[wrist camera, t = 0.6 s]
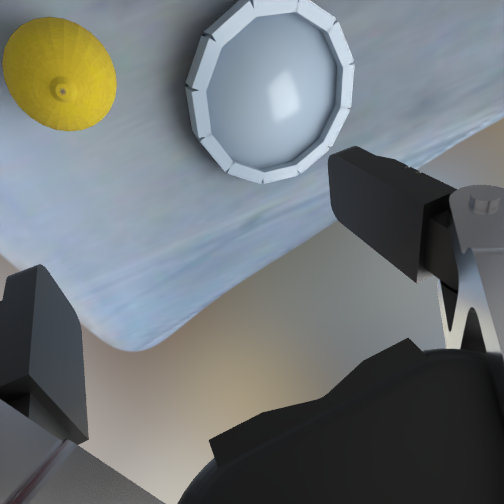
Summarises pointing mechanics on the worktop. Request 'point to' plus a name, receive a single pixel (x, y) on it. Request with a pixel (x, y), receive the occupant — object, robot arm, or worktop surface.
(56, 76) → the lemon
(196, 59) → the dish
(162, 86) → the worktop surface
